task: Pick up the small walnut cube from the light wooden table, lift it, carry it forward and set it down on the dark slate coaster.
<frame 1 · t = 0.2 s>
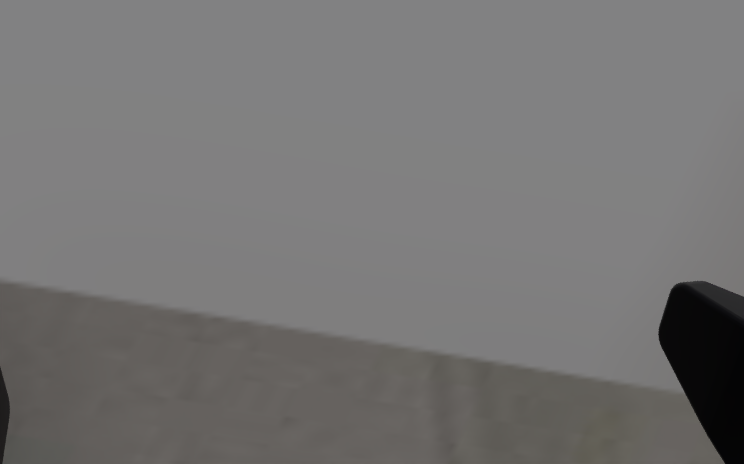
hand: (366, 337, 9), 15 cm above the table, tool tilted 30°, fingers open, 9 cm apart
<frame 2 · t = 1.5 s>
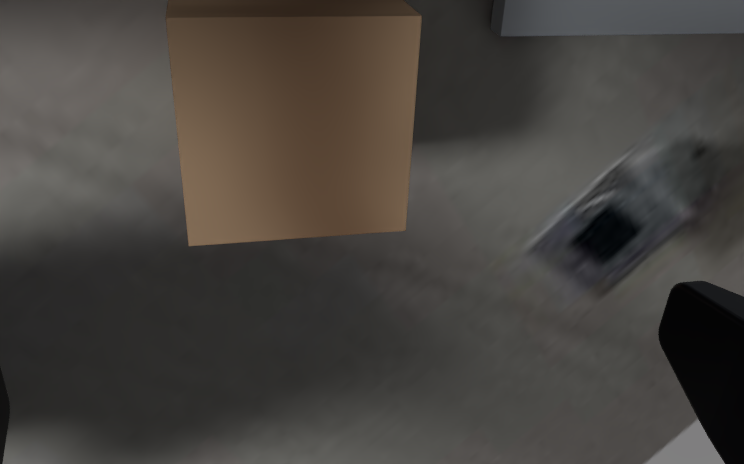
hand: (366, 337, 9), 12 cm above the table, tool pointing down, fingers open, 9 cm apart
walnut cube: (276, 67, 19), on the table
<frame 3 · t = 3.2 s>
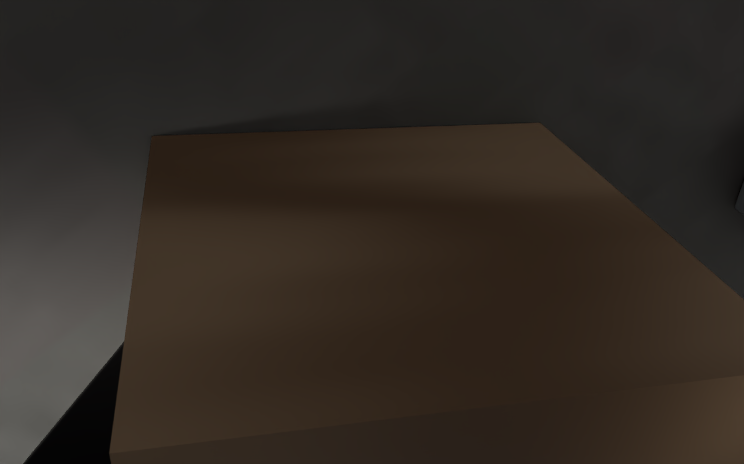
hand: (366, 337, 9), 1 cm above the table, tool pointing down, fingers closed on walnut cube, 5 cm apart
walnut cube: (350, 292, 10), on the table, touching gripper
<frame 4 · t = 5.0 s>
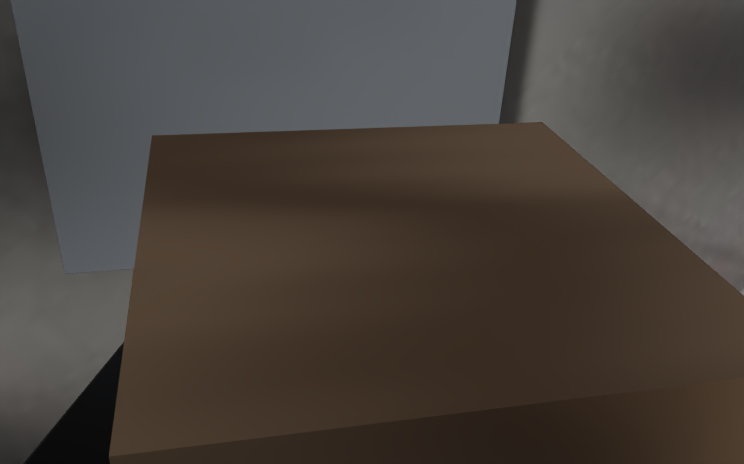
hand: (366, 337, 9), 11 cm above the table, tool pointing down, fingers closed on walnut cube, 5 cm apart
walnut cube: (351, 292, 10), point 10 cm above the table, touching gripper
slate coaster: (280, 80, 19), on the table
when the fingers open (3 cm above the table, at t = 6.8 s): walnut cube drops 1 cm, resting on slate coaster.
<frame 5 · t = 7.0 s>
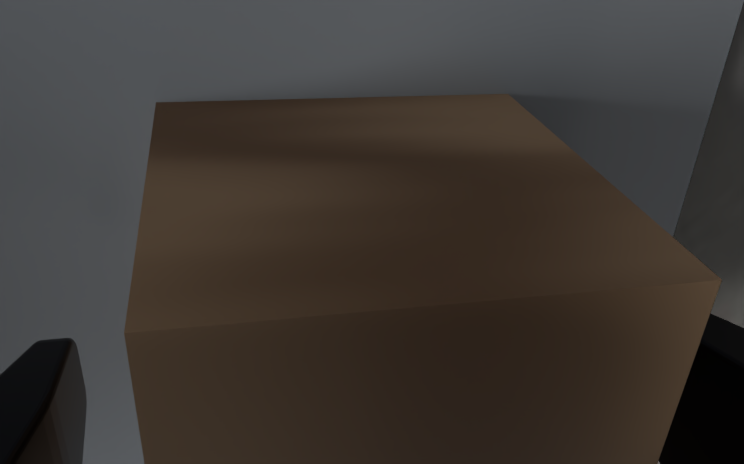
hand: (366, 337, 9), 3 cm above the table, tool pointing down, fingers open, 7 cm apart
walnut cube: (336, 250, 11), point 1 cm above the table, touching slate coaster
slate coaster: (331, 226, 12), on the table
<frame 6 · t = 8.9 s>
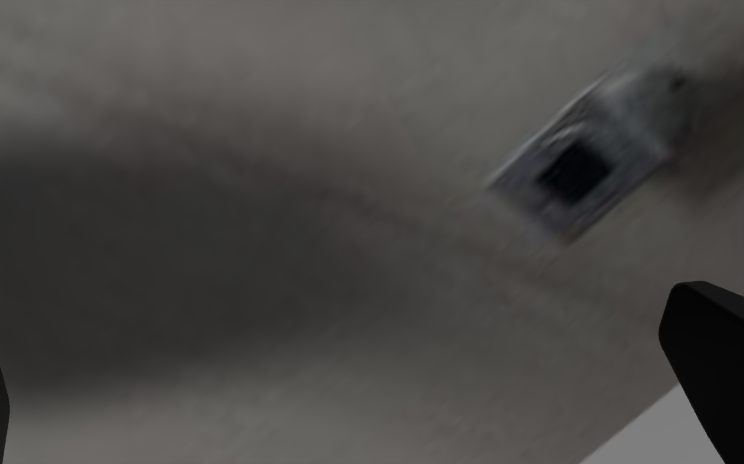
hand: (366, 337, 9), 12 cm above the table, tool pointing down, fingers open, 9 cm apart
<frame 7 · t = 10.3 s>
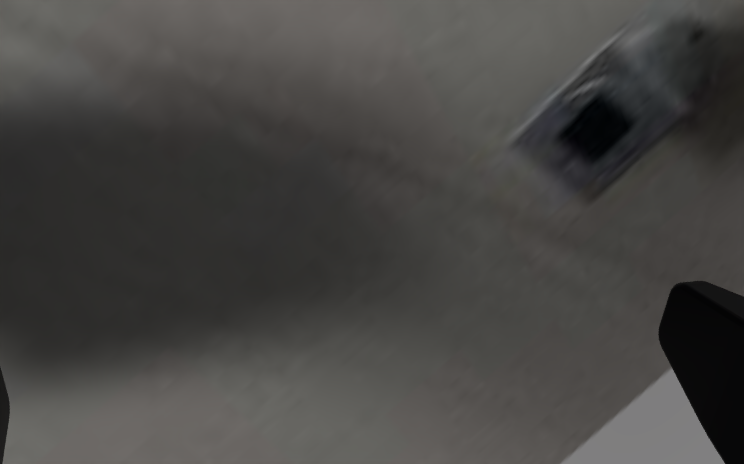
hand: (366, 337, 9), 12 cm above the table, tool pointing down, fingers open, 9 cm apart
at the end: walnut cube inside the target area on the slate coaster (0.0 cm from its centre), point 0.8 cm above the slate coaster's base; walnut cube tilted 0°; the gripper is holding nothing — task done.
